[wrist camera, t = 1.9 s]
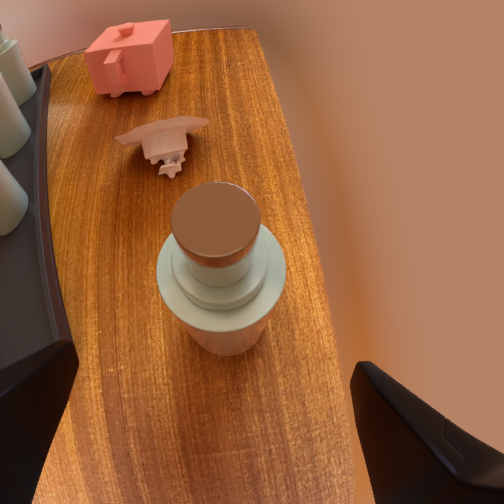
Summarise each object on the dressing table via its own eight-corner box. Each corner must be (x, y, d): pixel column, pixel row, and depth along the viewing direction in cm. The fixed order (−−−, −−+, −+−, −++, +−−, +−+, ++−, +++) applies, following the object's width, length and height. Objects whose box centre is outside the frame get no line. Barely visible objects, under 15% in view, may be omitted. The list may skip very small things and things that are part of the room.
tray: (78, 358, 18) (64, 354, 16) (-3, 388, 16) (-19, 385, 14) (51, 73, 33) (47, 63, 31) (3, 99, 31) (-2, 90, 29)
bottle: (258, 362, 19) (296, 321, 8) (180, 347, 19) (103, 284, 8) (270, 287, 21) (311, 163, 10) (196, 274, 22) (159, 142, 10)
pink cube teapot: (181, 55, 34) (176, 2, 26) (155, 108, 29) (143, 42, 21) (127, 59, 34) (116, 9, 26) (92, 112, 29) (71, 54, 21)
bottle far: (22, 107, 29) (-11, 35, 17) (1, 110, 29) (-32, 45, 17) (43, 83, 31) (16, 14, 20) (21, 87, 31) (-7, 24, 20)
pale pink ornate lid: (163, 191, 29) (95, 179, 22) (163, 142, 29) (99, 120, 22) (233, 172, 25) (163, 146, 18) (229, 116, 25) (165, 79, 18)
